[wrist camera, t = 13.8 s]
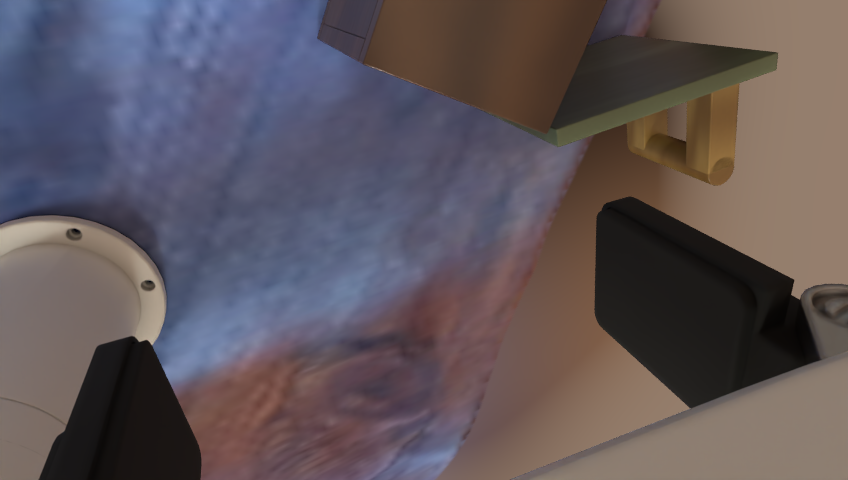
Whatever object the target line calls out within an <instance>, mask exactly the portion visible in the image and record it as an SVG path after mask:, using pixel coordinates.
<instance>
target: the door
mask: <svg viewBox="0 0 848 480" xmlns="http://www.w3.org/2000/svg"><path fill="white" fill-rule="evenodd" d="M777 59H778V53H776V52H768V51H759V50H751V49H742V48H733V47H724V46H715V45H707V44H698V43H689V42H680V41H671V40H663V39H653V38H645V37H636V36H627V35H620V36H616V37H613V38H610V39H607V40H604V41H601V42H598V43H595V44H591V45H588V46H586V48H585V51H584V53H583V55H582V57H581V59H580V62H579V64H578V66H577V68H576V71H575V73H574V75H573V77H572V80H571V82H570V84H569V86H568V88H567V91H566V93H565V95H564V97H563V100H562V102H561V104H560V106H559V109H558V111H557V113H556V115H555V118H554V120H553V122H552V124H551V126H550V129H549V131H548V133H547V134H543V133H541V132H538V131H536V130H533V129H530V128H528V127H525V126H523V125H520V124H517V123H515V122H512V121H510V120H507V119H504V118H502V117H499V116H497V115H494V114H491V113H489V112H486V111H484V112H486V113H488V114H490V115H492V116H494V117H497V118H499V119H501V120H503V121H505V122H507V123H509V124H511V125H513V126H515V127H517V128H519V129H522V130H524V131H526V132H528V133H530V134H532V135H534V136H536V137H538V138H540V139H542V140H545V141H547V142H549V143H551V144H553V145H555V146H557V147H560V146H563V145H566V144H569V143H572V142H575V141H577V140H580V139H583V138H586V137H589V136H591V135H594V134H597V133H600V132H603V131H606V130H608V129H611V128H614V127H617V126H620V125H622V124H625V123H627V141H628V148H629V150H630V151H631V152H632V153H634V154H637V155H639V156H642V157H644V158H647V159H649V160H652V161H655V162H657V163H659V164H662V165H664V166H667V167H670V168H672V169H674V170H677V171H679V172H681V173H684V174H686V175H689V176H692V177H694V178H696V179H699V180H701V181H704V182H706V183H709V184H712V185H714V186H718V185H721V184H723V183H725V182H726V181H727V180H728V179H729V178H730V176H731V175H732V172H733V169H734V158H735V142H736V127H737V110H738V94H739V83H741V82H743V81H747V80H749V79H752V78H755V77H758V76H760V75H763V74H766V73H769V72H772V71H775V70H776V69H777ZM684 102H687V136H686V137H687V138H686V142H685V141H682V140H679V139H676V138H673V137H670V136H667V109H668V108H670V107H673V106H676V105H679V104H682V103H684ZM480 110H481V109H480ZM482 111H483V110H482Z"/></svg>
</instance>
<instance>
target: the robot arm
mask: <svg viewBox="0 0 848 480" xmlns="http://www.w3.org/2000/svg"><path fill="white" fill-rule="evenodd" d="M596 226H597V227H596V268H595V271H596V272H595V316H596V319H597V321H598V323H599V325H600V326H601V327H602V328H603V329H604V330H605V331H606V332H607V333H608V334H609V335H610V336H612V337H613V338H614V339H615V340H616V341H617V342H618V343H619V344H620V345H621V346H623V347H624V348H625V349H626V350H627V351H628V352H629V353H630V354H631V355H632V356H634V357H635V358H636V359H637V360H638V361H639V362H640V363H641V364H642V365H643V366H644V367H646V368H647V369H648V370H649V371H650V372H651V373H652V374H653V375H654V376H656V377H657V378H658V379H659V380H660V381H661V382H662V383H663V384H665V386H667V387H668V388H669V389H670V390H671V391H672V392H673V393H674V394H675V395H676V396H677V397H679V398H680V399H681V400H682V401H683V402H684V403H685V404H686V405H687V406H688V407H690V408H691V409H689V410H686V411H683V412H681V413H678V414H676V415H673V416H671V417H668V418H665V419H663V420H660V421H658V422H655V423H653V424H650V425H647V426H645V427H642V428H640V429H637V430H635V431H632V432H629V433H627V434H624V435H622V436H619V437H617V438H614V439H612V440H609V441H607V442H604V443H602V444H599V445H596V446H594V447H591V448H589V449H586V450H584V451H581V452H579V453H576V454H574V455H571V456H568V457H566V458H563V459H561V460H558V461H556V462H553V463H551V464H548V465H546V466H543V467H541V468H538V469H536V470H533V471H531V472H528V473H525V474H523V475H520V476H518V477H515V478H513V479H510V480H848V285H844V284H823V285H816V286H813V287H811V288H808V289H806V290H805V291H804V293H803V294H802V295H801V298H800V300H799V299H797V298H795V297H794V296H792V295H791V292H792V288H793V283H794V279H792V278H790V277H788V276H786V275H784V274H782V273H780V272H778V271H776V270H774V269H772V268H770V267H768V266H766V265H764V264H762V263H760V262H758V261H757V260H755V259H753V258H751V257H749V256H747V255H745V254H743V253H741V252H739V251H737V250H735V249H733V248H731V247H729V246H727V245H725V244H724V243H721V242H720V241H718V240H716V239H714V238H712V237H710V236H708V235H706V234H704V233H702V232H700V231H698V230H696V229H694V228H692V227H690V226H689V225H686V224H684V223H683V222H681V221H679V220H677V219H675V218H673V217H671V216H669V215H667V214H665V213H663V212H661V211H659V210H657V209H655V208H653V207H651V206H650V205H648V204H646V203H644V202H642V201H640V200H638V199H636V198H634V197H626V198H622V199H619V200H615V201H612V202H609V203H606V204H605V205H604V206H603V208H602V211H600V212H599V213H598V215H597V225H596ZM73 228H76V229H78V230H80V231H81V232H75V231H74V230H73ZM146 280H151V281H152V282H147V281H146ZM166 302H167V294H166V290H165V286H164V282H163V279H162V277H161V275H160V273H159V271H158V269H157V267H156V265H155V264H154V262H153V261H152V260H151V259H150V257H149V256H148V255H147V254H146V252H145V251H143V250H142V249H141V248H140V247H139V246H138V245H137V244H135V243H134V242H133V241H132V240H130V239H129V238H127V237H125V236H124V235H122V234H121V233H119V232H117V231H116V230H114V229H111V228H109V227H106V226H104V225H101V224H99V223H96V222H93V221H89V220H84V219H80V218H76V217H68V216H57V215H46V216H30V217H25V218H21V219H16V220H12V221H8V222H6V223H3V224H1V225H0V480H200V478H201V453H200V449H199V445H198V443H197V440H196V438H195V436H194V434H193V432H192V430H191V428H190V425H189V423H188V421H187V419H186V417H185V415H184V413H183V411H182V408H181V406H180V404H179V402H178V400H177V398H176V396H175V394H174V391H173V389H172V387H171V385H170V383H169V381H168V379H167V377H166V374H165V372H164V370H163V368H162V366H161V364H160V362H159V360H158V357H157V355H156V353H155V351H154V349H153V347H152V345H153V343H154V342H155V340H156V339H157V337H158V336H159V333H160V331H161V328H162V326H163V323H164V319H165V314H166Z"/></svg>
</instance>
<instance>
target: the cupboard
mask: <svg viewBox="0 0 848 480" xmlns="http://www.w3.org/2000/svg"><path fill="white" fill-rule="evenodd" d="M606 1H607V0H328V3H327V7H326V10H325V13H324V17H323V20H322V23H321V27H320V30H319V34H318V37H317V38H318V39H319V40H321V41H322V42H324V43H326V44H328V45H330V46H331V47H333V48H335V49H337V50H339V51H340V52H342V53H344V54H346V55H348V56H349V57H351V58H353V59H355V60H356V61H358V62H360V63H362V64H364V65H366V66H369V67H371V68H374V69H377V70H379V71H382V72H384V73H387V74H390V75H392V76H395V77H397V78H400V79H403V80H405V81H408V82H410V83H413V84H416V85H418V86H421V87H423V88H426V89H429V90H431V91H434V92H437V93H439V94H442V95H444V96H447V97H450V98H452V99H455V100H457V101H460V102H463V103H465V104H468V105H470V106H473V107H476V108H478V109H481V110H483V111H486V112H489V113H491V114H494V115H497V116H499V117H502V118H504V119H507V120H510V121H512V122H515V123H517V124H520V125H523V126H525V127H528V128H530V129H533V130H536V131H538V132H541V133H543V134H547V133H548V131H549V129H550V126H551V124H552V122H553V120H554V118H555V115H556V113H557V111H558V109H559V106H560V104H561V102H562V100H563V97H564V95H565V93H566V91H567V88H568V86H569V84H570V82H571V80H572V77H573V75H574V73H575V71H576V68H577V66H578V64H579V62H580V59H581V57H582V55H583V53H584V51H585V48H586V46H587V44H588V42H589V39H590V37H591V35H592V33H593V30H594V28H595V26H596V24H597V22H598V19H599V17H600V15H601V13H602V10H603V8H604V6H605V4H606Z"/></svg>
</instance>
